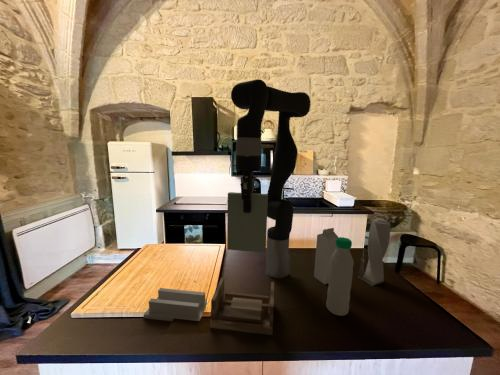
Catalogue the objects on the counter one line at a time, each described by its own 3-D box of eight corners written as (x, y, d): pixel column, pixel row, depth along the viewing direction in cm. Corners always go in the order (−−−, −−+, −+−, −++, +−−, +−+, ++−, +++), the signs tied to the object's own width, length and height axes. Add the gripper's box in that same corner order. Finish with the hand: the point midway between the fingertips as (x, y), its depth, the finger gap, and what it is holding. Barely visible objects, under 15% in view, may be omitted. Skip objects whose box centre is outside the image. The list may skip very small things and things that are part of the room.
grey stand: (160, 297, 78) (159, 285, 77) (209, 302, 76) (209, 289, 75) (143, 318, 68) (142, 304, 68) (199, 324, 66) (199, 310, 66)
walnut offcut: (225, 313, 69) (225, 305, 69) (263, 317, 68) (263, 309, 67) (221, 324, 65) (221, 315, 65) (262, 329, 64) (262, 320, 63)
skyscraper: (370, 272, 97) (377, 211, 92) (388, 282, 90) (397, 217, 85) (357, 277, 94) (364, 213, 89) (375, 287, 86) (383, 219, 82)
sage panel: (228, 246, 71) (229, 192, 68) (265, 249, 70) (267, 194, 67) (227, 249, 69) (227, 193, 66) (265, 252, 68) (267, 195, 65)
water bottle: (347, 305, 76) (354, 236, 72) (349, 319, 70) (357, 245, 66) (326, 300, 79) (331, 233, 74) (326, 313, 72) (332, 241, 68)
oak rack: (222, 299, 78) (222, 275, 76) (273, 304, 76) (274, 280, 74) (210, 331, 64) (210, 302, 62) (272, 338, 62) (273, 309, 60)
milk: (313, 277, 93) (317, 227, 89) (324, 273, 96) (328, 225, 92) (324, 284, 88) (328, 232, 84) (335, 281, 90) (339, 229, 87)
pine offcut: (233, 306, 69) (233, 297, 68) (261, 309, 68) (262, 300, 67) (230, 316, 64) (230, 307, 64) (260, 319, 63) (261, 310, 63)
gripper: (239, 153, 71) (239, 205, 74) (231, 154, 58) (230, 217, 61) (262, 154, 71) (261, 206, 73) (259, 154, 57) (257, 219, 60)
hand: (247, 211), depth 67 cm, fingers closed on sage panel, 2 cm apart
